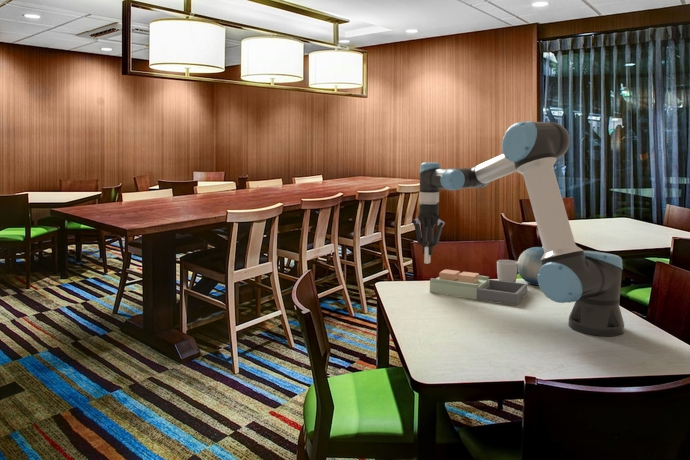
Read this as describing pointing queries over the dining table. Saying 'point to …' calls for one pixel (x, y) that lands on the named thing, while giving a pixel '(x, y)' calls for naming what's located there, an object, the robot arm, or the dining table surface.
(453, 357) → the dining table surface
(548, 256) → the robot arm
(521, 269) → the decorative ball
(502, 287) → the tray
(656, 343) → the dining table surface
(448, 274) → the tile rear
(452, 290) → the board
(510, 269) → the cup
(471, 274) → the tile front
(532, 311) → the dining table surface
